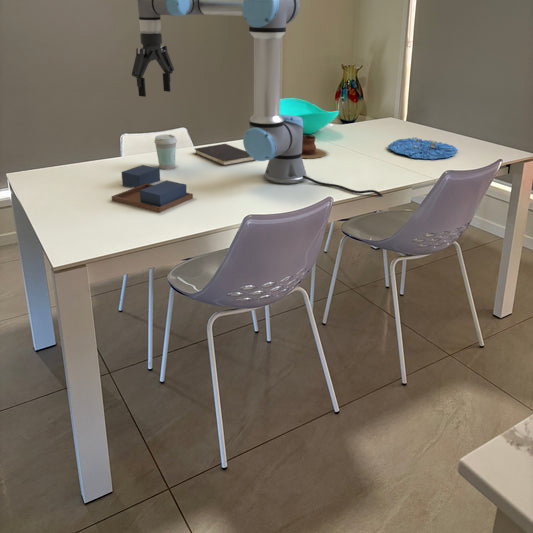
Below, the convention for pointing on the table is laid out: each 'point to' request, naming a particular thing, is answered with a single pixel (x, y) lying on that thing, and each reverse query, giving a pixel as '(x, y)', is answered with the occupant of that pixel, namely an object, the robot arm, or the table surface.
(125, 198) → the brown tray
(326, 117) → the table top decor
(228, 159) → the hardcover book
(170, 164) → the coffee cup
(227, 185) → the table surface
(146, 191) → the pad
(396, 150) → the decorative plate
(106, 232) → the table surface
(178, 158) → the table surface
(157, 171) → the pad
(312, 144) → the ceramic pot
